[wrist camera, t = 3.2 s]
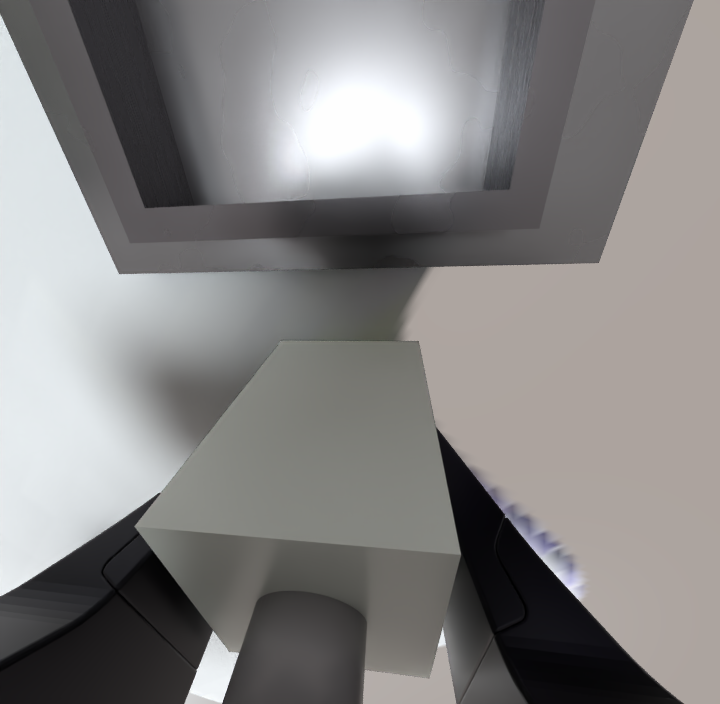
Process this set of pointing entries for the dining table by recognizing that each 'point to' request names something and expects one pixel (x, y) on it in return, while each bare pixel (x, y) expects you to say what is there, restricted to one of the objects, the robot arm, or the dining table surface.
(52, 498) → the dining table surface
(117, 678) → the robot arm
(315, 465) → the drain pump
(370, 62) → the motor mount
